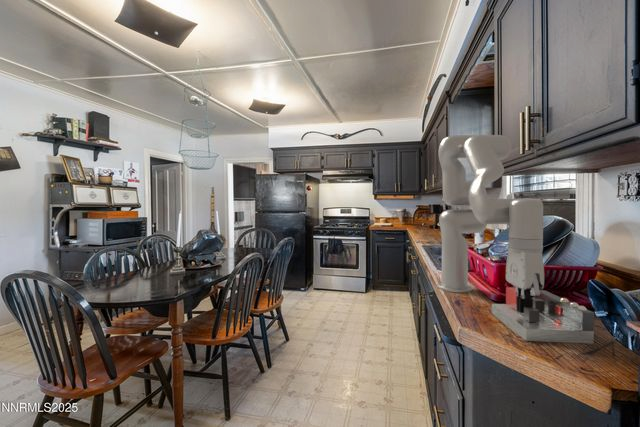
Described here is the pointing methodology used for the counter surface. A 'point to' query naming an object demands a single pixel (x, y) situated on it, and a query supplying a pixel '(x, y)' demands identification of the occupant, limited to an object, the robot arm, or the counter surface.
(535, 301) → the block
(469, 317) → the counter surface
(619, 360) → the counter surface
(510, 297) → the matte red cuboid
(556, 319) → the grey slider control panel
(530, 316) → the block
